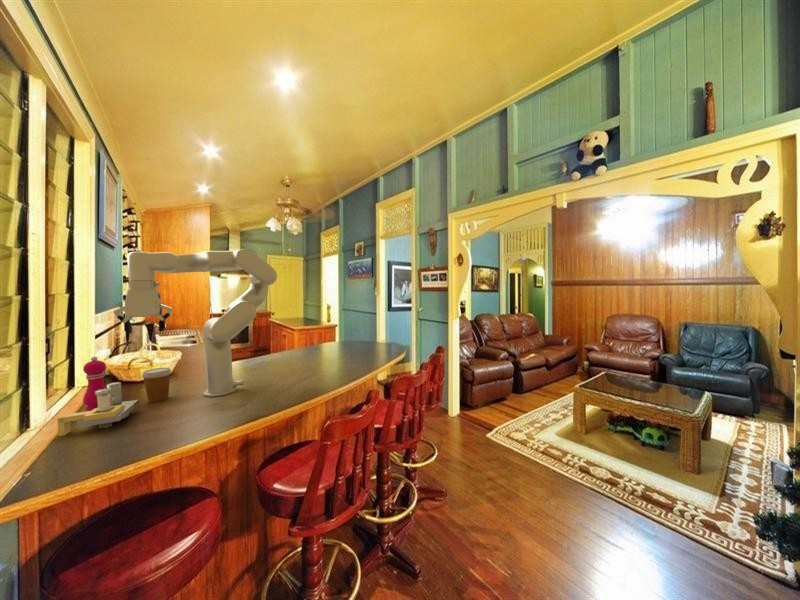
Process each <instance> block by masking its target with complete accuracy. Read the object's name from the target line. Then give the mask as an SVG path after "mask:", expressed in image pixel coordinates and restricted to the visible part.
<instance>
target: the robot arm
mask: <svg viewBox="0 0 800 600" xmlns="http://www.w3.org/2000/svg"><path fill="white" fill-rule="evenodd" d="M126 256H127V257H126V258H127V271H128V273H127V274H128V287H129V288H128V289H127V290H126V294H125V303H124V306H122V307H119V308H117V309H116V310H114V311H113V315H115V317H117V320H119V321H121V323H123V328H124V329H123V330H124V333H126V335H129V334H132V333H133V331H132V329H133V328H132V327H133V326H132V322H131V320H132V319H133V318H143V317H144V318H145V317H156V318H157V319H159V320H158V332H164V331H165V330H166V320H167V318H169V317H170V316H171V314H172V313H173V310H174V308H172V307H170V306H168V305H164V304H163V303H162V297H161V293H160V289H157V287H161V282H159V281H156V272H158V273H161V274H181V273H182V274H183V273H184V274H185V273H208V272H223V271H224V272H226V271H227V272H228V271H229V272H230V271H231V272H232V271H242V270H244V271H245V272H246V273H248V274H249V281H250V282H249V288H248V289H247V290H246V291H245V292H244V293H242V294H241V295H240V296H239V297H237V298H236V299H235V300H234V301H232V302H231V303H230V304H228V306H227V307H226V310H225V313H224V314H223V315H222V316H220V317H216V316H215V317H211V318H209V319H208V320H206V322H204V325H203V327H202V337H203V342H204V344H203V345H204V353H205V358H204V359H205V373H206V389H205V390H204V391H202V395H203V397H209V398H211V397H221V396H225V395H230V394H232V393H234V392H236V391H237V390H238V386H239V387H241V386H245V380H242V379H240V380H237V379H236V380H235V377H234V376H233V363H232V362H233V361H232V358H233V357H232V346H231V345H232V344H231V343H232V342H231V340H232V339H233V338H235V337H236V336H237V335H238V334H240V333H241V332H242V331H243V330H244V329H245V328H247V327H248V326H249V325H250V324H251V323H252V322H253V321H254V319H255V318H256V315H257V309H258V308H259V307H260V306H261V305H262V304H263V303H264V302H265V300H267V297H268V295H269V286H271V285H273V284H275V282H276V281H277V278H278V274H277V271H276V270H275V268H274V267H272V266H271V264H269V263H267V262H266V261H265V260H264V259H262V258H261V257H260V256H259V255H257V254H256V253H254V252H253V251H251V250H249V249H247V248H240V249H237V250H206V251H200V252H194V253H189V254H188V253H187V254H175V253H173V252H169V251H164V252H163V251H162V252H159V251H158V252H147V251H131V252H128V253H127V255H126ZM163 310H166V313H164V314H163ZM124 311H125V315H126V316H123V315H122V314H121V313H123V312H124Z"/></svg>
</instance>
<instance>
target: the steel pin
mask: <svg viewBox="0 0 800 600" xmlns="http://www.w3.org/2000/svg"><path fill="white" fill-rule="evenodd" d="M111 392H112V390H111V388H107V387H106V389H100V390H97V391H95V395H97V401H98V413H101V412H108V411H111V400H110V393H111ZM98 426H99V427H98V428H100V429H99V430H102V429H101V428H106V429H108V428H107V427H109V428H111V427H112V426H113V422H109V423H103V424H98ZM110 426H111V427H110Z"/></svg>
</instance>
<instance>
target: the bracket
mask: <svg viewBox="0 0 800 600" xmlns="http://www.w3.org/2000/svg"><path fill="white" fill-rule="evenodd" d="M123 409H124V404H123V405H116V406H111V411H108V412H101V413H98V408H95V409H93V410H92V411H86V410H85V411H81V412H73V413H67V414H62V415H60V416H59V417H56V420H57V434H58V437H64V436H66V435H67V434H69V433H70V432H71V422H75V421H80V420H82V419H83V421H89V420H96V419H102V418H109V417H115V416H116V415H117V414H118V413H119V412H121V411H122V410H123Z"/></svg>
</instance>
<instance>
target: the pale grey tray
mask: <svg viewBox="0 0 800 600" xmlns="http://www.w3.org/2000/svg"><path fill="white" fill-rule="evenodd" d="M106 388H111V390H112V392H111V393H110V400H111V406H116V405H123V404H124V409H123V410H122V411H121V412H119V413H118V414H117V415H116V416H115V417H109V418H102V419H96V420H89V421H83V419H82V420H78V421H77V422H76V423H77V426H76V427H77V428H83V427H88V426H96V425H99V424H103V423H109V422H112V423H114V422H120V421H122V420H124V419H126V417H127V418H128V417H130V412H131V411H132V410H134V409H135V408H136V407H137V406H138V405H140V401H139V399H135V400H126V401H123V395H122V393H123V392H122V382H121V381H116V382H110V383H107V384H106ZM121 419H122V420H121Z"/></svg>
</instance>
